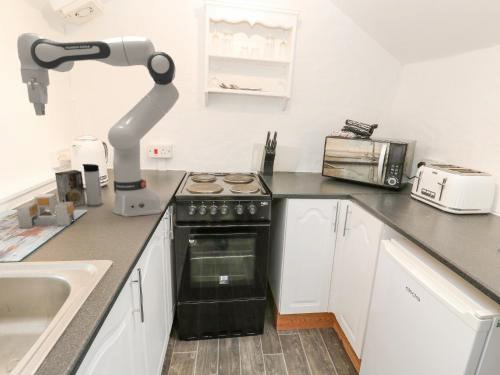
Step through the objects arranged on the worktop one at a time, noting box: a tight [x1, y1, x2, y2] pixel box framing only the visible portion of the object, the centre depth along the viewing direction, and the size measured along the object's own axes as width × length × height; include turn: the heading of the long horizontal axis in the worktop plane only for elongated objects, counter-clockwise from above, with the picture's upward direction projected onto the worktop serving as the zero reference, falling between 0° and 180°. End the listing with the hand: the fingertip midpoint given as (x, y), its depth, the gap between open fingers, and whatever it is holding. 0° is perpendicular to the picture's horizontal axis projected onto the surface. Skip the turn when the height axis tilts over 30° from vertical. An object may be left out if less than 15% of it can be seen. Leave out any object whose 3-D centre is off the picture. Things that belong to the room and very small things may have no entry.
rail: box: [15, 202, 76, 229], centre depth 115 cm, size 18×6×8 cm, turn 101°
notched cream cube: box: [34, 193, 59, 216], centre depth 127 cm, size 6×6×8 cm
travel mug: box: [82, 163, 103, 208], centre depth 139 cm, size 6×7×20 cm
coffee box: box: [54, 169, 87, 208], centre depth 138 cm, size 9×6×16 cm
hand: (40, 115), depth 119 cm, fingers open, 8 cm apart
